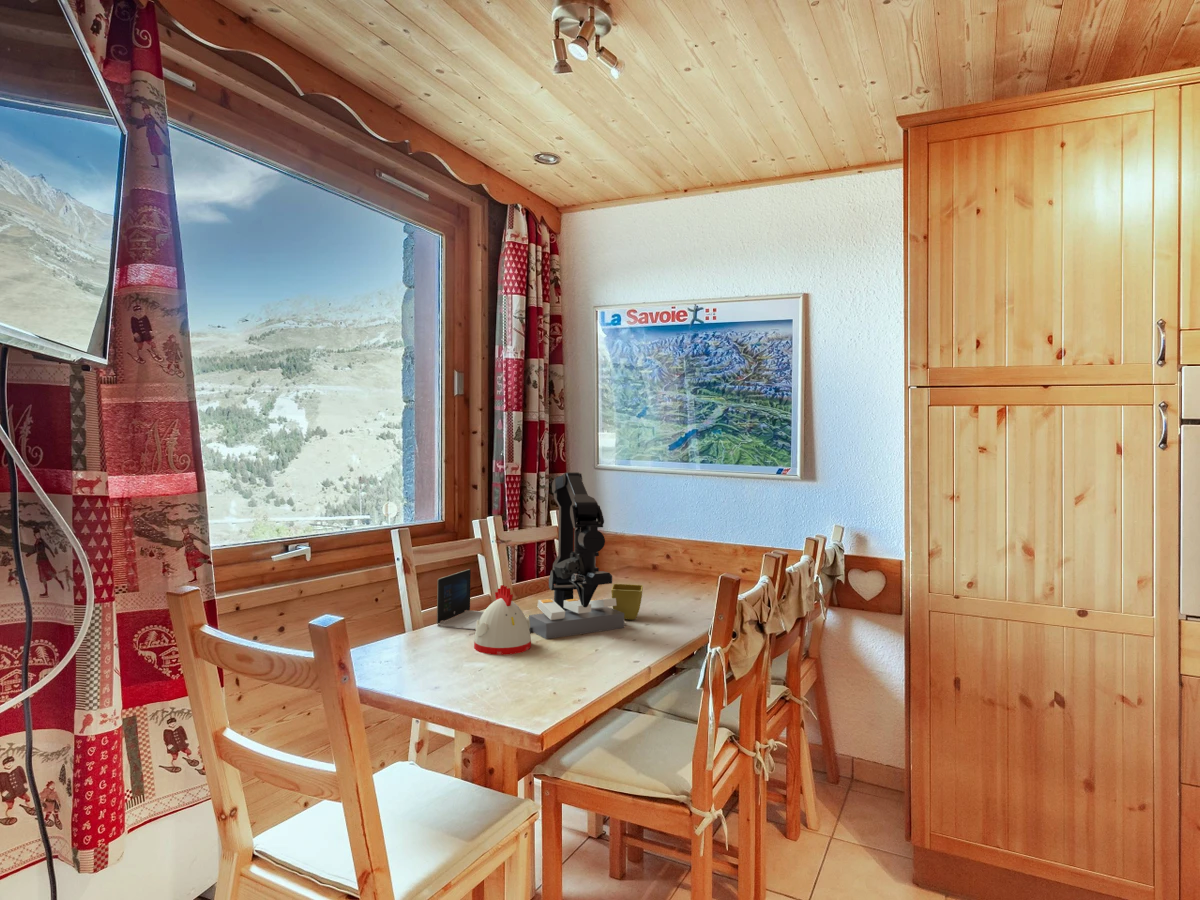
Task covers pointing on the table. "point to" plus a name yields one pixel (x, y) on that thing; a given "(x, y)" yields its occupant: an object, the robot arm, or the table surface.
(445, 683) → the table surface
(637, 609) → the flower pot
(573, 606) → the block
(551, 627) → the power strip
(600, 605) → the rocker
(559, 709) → the table surface
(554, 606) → the rocker
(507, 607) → the kitchen timer
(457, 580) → the laptop
